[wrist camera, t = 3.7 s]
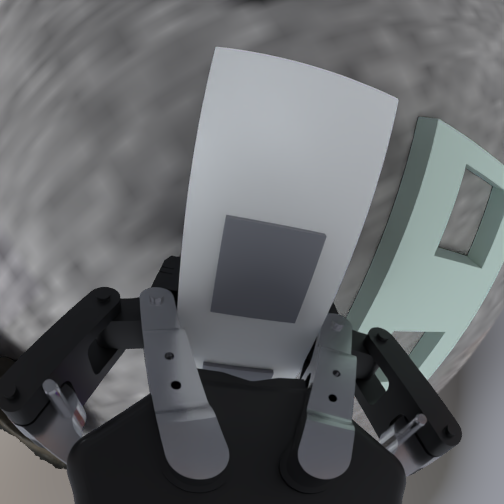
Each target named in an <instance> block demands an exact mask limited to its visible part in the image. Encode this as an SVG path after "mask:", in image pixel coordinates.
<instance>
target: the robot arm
mask: <svg viewBox="0 0 504 504" xmlns="http://www.w3.org/2000/svg"><path fill="white" fill-rule="evenodd" d="M180 262H181V254H180V257H175V256H170V257H169V258H167V259H166V260H165V261H164V263H163V265H162V267H161V268H160V270H159V272H158V274H157V276H156V278H155V280H154V282H153V284H152V287H151V288H148V289H145V290H144V291H143V292H141V294H140V297H138V298H131V299H120V294H119V293H118V292H117V291H116V290H115V289H113V288H109V287H100V288H97V289H94V290H92V291H91V292H90V293H89V294H88V295H86V296H85V297H84V298H83V299H82V300H81V301H79V302H78V303H77V304H76V305H75V306H74V307H73V308H72V309H70V310H69V311H68V312H67V313H66V314H65V315H64V316H63V317H61V318H60V319H59V320H58V321H57V322H56V323H55V324H54V325H53V326H52V327H51V328H50V329H49V330H47V331H46V332H45V333H44V334H43V335H42V336H41V337H40V338H39V339H38V340H37V341H36V342H35V343H34V344H33V345H32V346H31V347H30V348H29V349H28V350H27V351H26V352H25V353H24V354H23V355H22V356H21V357H20V358H19V359H18V360H17V361H16V362H15V363H14V364H13V365H12V366H11V367H10V368H9V369H8V370H7V371H6V373H5V374H4V375H3V376H2V377H1V378H0V408H1V409H2V411H3V412H4V413H5V414H6V415H7V417H8V418H9V420H10V421H11V422H12V423H13V424H14V425H15V426H16V427H17V428H18V429H19V430H20V431H21V432H22V433H23V434H24V435H25V436H26V437H28V438H29V439H30V440H31V441H32V442H33V443H34V444H36V445H37V446H39V447H41V448H46V449H47V450H48V451H49V452H51V453H52V454H53V455H55V456H56V457H57V458H58V459H60V460H61V461H62V462H64V463H65V464H67V474H68V477H69V481H70V484H71V487H72V491H73V494H74V501H75V504H402V498H403V494H404V490H405V485H406V477H407V476H409V475H412V474H414V473H416V472H417V471H419V470H421V469H422V468H424V467H425V466H427V465H428V464H430V463H432V462H433V461H435V460H436V459H438V458H439V457H441V456H442V455H443V454H445V453H446V452H448V451H449V450H450V449H452V448H453V447H454V446H456V445H457V444H458V443H459V442H460V440H461V437H462V432H461V428H460V426H459V424H458V423H457V421H456V420H455V418H454V417H453V415H452V414H451V413H450V411H449V410H448V408H447V407H446V405H445V404H444V403H443V401H442V400H441V399H440V397H439V396H438V394H437V393H436V392H435V390H434V389H433V388H432V386H431V385H430V383H429V382H428V381H427V379H426V378H425V377H424V375H423V374H422V373H421V371H420V370H419V369H418V368H417V366H416V365H415V364H414V362H413V361H412V360H411V358H410V357H409V356H408V355H407V353H406V352H405V351H404V350H403V348H402V347H401V346H400V345H399V343H398V342H397V341H396V340H395V338H394V337H393V336H392V335H391V334H390V333H389V332H388V331H386V330H385V329H382V328H379V327H374V328H371V329H370V330H369V332H368V334H364V333H361V332H358V331H355V330H352V325H351V323H350V321H349V320H348V319H346V318H345V317H343V316H341V315H339V314H338V312H337V310H336V307H335V305H334V303H332V305H331V307H330V310H329V312H328V314H327V316H326V318H325V321H324V323H323V325H322V327H321V329H320V331H319V333H318V335H317V337H316V339H315V341H314V343H313V345H312V347H311V349H310V351H309V353H308V355H307V357H306V359H305V361H304V363H303V365H302V367H301V369H300V372H299V376H298V379H292V378H274V379H266V380H259V381H249V380H246V379H243V378H239V377H236V376H233V375H230V374H227V373H224V372H219V371H212V370H205V369H199V368H197V367H196V364H195V361H194V357H193V354H192V350H191V347H190V344H189V340H188V336H187V333H186V330H185V328H181V325H180V321H179V317H178V313H177V306H178V289H179V275H180ZM136 348H143V349H144V357H145V365H146V372H147V378H148V385H149V391H150V394H148V395H147V396H145V397H144V398H143V399H141V400H140V401H138V402H137V403H135V404H134V405H132V406H131V407H129V408H128V409H126V410H125V411H123V412H122V413H120V414H118V415H117V416H115V417H114V418H112V419H111V420H109V421H108V422H106V423H104V424H103V425H101V426H100V427H98V428H96V429H95V430H93V431H91V432H90V433H88V434H87V435H85V436H83V437H82V429H83V426H84V424H85V422H86V413H85V410H84V408H83V405H84V404H85V402H86V401H87V400H88V398H89V397H90V396H91V394H92V393H93V392H94V390H95V389H96V388H97V386H98V385H99V384H100V382H101V381H102V380H103V378H104V377H105V376H106V374H107V373H108V372H109V370H110V369H111V368H112V367H113V365H114V364H115V363H116V361H117V360H118V359H119V357H120V356H121V355H122V354H123V352H124V351H125V349H136ZM379 367H380V369H381V370H382V372H383V373H384V374H385V376H386V377H387V379H388V381H389V387H388V389H387V391H386V390H385V388H384V387H383V385H382V384H381V382H380V381H379V379H378V378H377V376H376V375H375V372H376V371H377V369H378V368H379ZM354 395H355V397H356V399H357V400H358V402H359V404H360V406H361V407H362V409H363V411H364V412H365V414H366V416H367V418H368V419H369V421H370V423H371V425H372V426H373V428H374V430H375V432H376V433H377V435H378V437H379V439H380V440H379V442H378V441H377V440H375V439H374V438H373V437H372V436H371V435H370V434H368V433H367V432H366V431H365V430H364V429H363V428H361V427H360V426H359V425H358V424H357V423H356V422H355V421H353V420H352V415H353V405H354Z"/></svg>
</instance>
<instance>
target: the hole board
mask: <svg viewBox="0 0 504 504" xmlns="http://www.w3.org/2000/svg"><path fill="white" fill-rule="evenodd" d="M465 168H466V169H468V170H469V171H471V172H472V173H474V174H476V175H477V176H479V177H480V178H482V179H483V180H485V181H486V182H488V183H489V184H490V185H492V186H493V188H492V191H491V194H490V198H489V201H488V204H487V207H486V210H485V213H484V215H483V218H482V221H481V224H480V226H479V229H478V231H477V234H476V236H475V239H474V241H473V244H472V246H471V248H470V251H469V253H468V255H467V256H465V255H462V254H459V253H456V252H452V251H449V250H446V249H442V248H439V247H438V245H439V243H440V240H441V238H442V235H443V233H444V230H445V228H446V225H447V223H448V220H449V217H450V215H451V212H452V209H453V206H454V203H455V200H456V197H457V194H458V191H459V188H460V185H461V182H462V178H463V175H464V171H465ZM503 262H504V165H503V164H501V163H500V162H499V161H498V160H497V159H495V158H494V157H493V156H492V155H490V154H489V153H488V152H487V151H485V150H484V149H483V148H481V147H480V146H479V145H477V144H476V143H475V142H473V141H472V140H470V139H469V138H468V137H466V136H465V135H463V134H462V133H460V132H459V131H457V130H456V129H454V128H453V127H451V126H450V125H448V124H446V123H445V122H443V121H442V120H440V119H437V118H427V117H418V121H417V125H416V129H415V134H414V138H413V142H412V146H411V150H410V153H409V157H408V161H407V164H406V168H405V171H404V174H403V178H402V181H401V184H400V187H399V191H398V194H397V197H396V200H395V203H394V206H393V209H392V211H391V214H390V217H389V220H388V223H387V225H386V228H385V231H384V233H383V236H382V239H381V241H380V244H379V246H378V249H377V251H376V254H375V256H374V258H373V261H372V263H371V266H370V268H369V270H368V273H367V275H366V277H365V279H364V282H363V284H362V286H361V288H360V290H359V292H358V295H357V297H356V299H355V301H354V303H353V305H352V307H351V309H350V311H349V313H348V315H347V317H346V319H348V320H349V321H350V323H351V325H352V330H355V331H358V332H361V333H364V334H368V332H369V330H370V329H371V328H374V327H379V328H382V329H385V330H386V331H388V332H389V333H390V334H391V335H392V333H393V331H413V332H425V333H424V335H423V336H422V338H421V339H420V341H419V342H418V343H417V345H416V346H415V348H414V349H413V351H412V352H411V353H410V355H409V357H410V358H411V360H412V361H413V362H414V364H415V365H416V366H417V368H418V369H419V370H420V371H421V373H422V374H423V375H424V377H425V378H426V379H427V380H428V379H429V378H430V376H431V375H432V374H433V373H434V372H435V370H436V369H437V368H438V367H439V366H440V364H441V363H442V362H443V360H444V359H445V358H446V357H447V355H448V354H449V353H450V351H451V350H452V349H453V347H454V346H455V344H456V343H457V342H458V340H459V339H460V337H461V336H462V334H463V333H464V331H465V330H466V329H467V327H468V325H469V324H470V322H471V321H472V319H473V318H474V316H475V314H476V313H477V311H478V309H479V308H480V306H481V304H482V303H483V301H484V299H485V297H486V296H487V294H488V292H489V290H490V288H491V286H492V284H493V283H494V281H495V279H496V277H497V275H498V273H499V270H500V268H501V266H502V264H503ZM375 375H376V376H377V378H378V379H379V381H380V382H381V384H382V385H383V387H384V388H385V390H386V391H387V389H388V387H389V381H388V379H387V377H386V376H385V374H384V373H383V372H382V370H381V369H380V367H379V368H378V369H377V371H376V372H375Z"/></svg>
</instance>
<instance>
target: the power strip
mask: <svg viewBox="0 0 504 504" xmlns="http://www.w3.org/2000/svg"><path fill="white" fill-rule="evenodd" d="M398 101H399V99H397V98H395V97H393V96H391V95H389V94H387V93H385V92H382V91H380V90H378V89H376V88H373V87H371V86H368V85H366V84H364V83H361V82H359V81H356V80H353V79H351V78H348V77H345V76H342V75H340V74H337V73H334V72H331V71H328V70H325V69H321V68H318V67H315V66H311V65H308V64H304V63H301V62H297V61H293V60H289V59H285V58H281V57H276V56H272V55H267V54H262V53H257V52H251V51H245V50H239V49H232V48H224V47H216V48H215V52H214V56H213V60H212V64H211V69H210V73H209V77H208V82H207V86H206V91H205V96H204V100H203V105H202V110H201V116H200V121H199V126H198V132H197V137H196V143H195V149H194V155H193V161H192V168H191V175H190V182H189V189H188V196H187V204H186V213H185V221H184V230H183V240H182V251H181V262H180V275H179V289H178V306H177V313H178V317H179V321H180V325H181V328H185V330H186V333H187V336H188V340H189V344H190V347H191V350H192V354H193V357H194V361H195V364H196V367H197V368H199V369H205V370H212V371H219V372H224V373H227V374H230V375H233V376H236V377H239V378H243V379H246V380H249V381H259V380H266V379H274V378H292V379H295V378H296V376H297V374H298V373H299V371H300V369H301V367H302V365H303V363H304V361H305V359H306V357H307V355H308V353H309V351H310V349H311V347H312V345H313V343H314V341H315V339H316V337H317V335H318V333H319V331H320V329H321V327H322V325H323V323H324V321H325V318H326V316H327V314H328V312H329V310H330V307H331V305H332V303H333V301H334V298H335V296H336V294H337V291H338V289H339V287H340V284H341V282H342V280H343V277H344V275H345V272H346V270H347V267H348V265H349V262H350V260H351V257H352V255H353V252H354V250H355V247H356V244H357V242H358V239H359V236H360V233H361V231H362V228H363V225H364V222H365V219H366V216H367V214H368V211H369V208H370V205H371V202H372V198H373V195H374V192H375V189H376V186H377V183H378V179H379V176H380V173H381V169H382V166H383V162H384V159H385V155H386V151H387V147H388V144H389V140H390V136H391V132H392V128H393V123H394V119H395V115H396V110H397V105H398Z"/></svg>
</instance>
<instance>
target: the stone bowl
mask: <svg viewBox="0 0 504 504" xmlns="http://www.w3.org/2000/svg"><path fill="white" fill-rule="evenodd" d="M14 363H15V361H13V360H12V359H10V358H8V357H0V378H1V377H2V376H3V375H4V374H5V373H6V371H7V370H8V369H9V368H10V367H11V366H12V365H13V364H14ZM0 429H3V430H4V431H6V432H8V433H9V434H11V435H13V436H16V437H17V438H18V439H19V440H20V442H23V443H24V444H25V445H26V446H27V447H28V448H29V449H30V450H31V451H33V452H34V454H35V455H36V456H39V457H40V459H41V460H45V461H47V462H48V463H50V464H52V465H53V466H54V467H55V468H58V469H62V468H64V469H67V464H65V463H64V462H62V461H61V460H60V459H58V458H57V457H56V456H55V455H53V454H52V453H51V452H49V451H48V450H47V449H46V448H41V447H39V446H37V445H36V444H34V443H33V442H32V441H31V440H30V439H29V438H28V437H26V436H25V435H24V434H23V433H22V432H21V431H20V430H19V429H18V428H17V427H16V426H15V425H14V424H13V423H12V422H11V421H10V420H9V418H8V417H7V415H6V414H5V413H4V412H3V411H2V409H1V408H0Z"/></svg>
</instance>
